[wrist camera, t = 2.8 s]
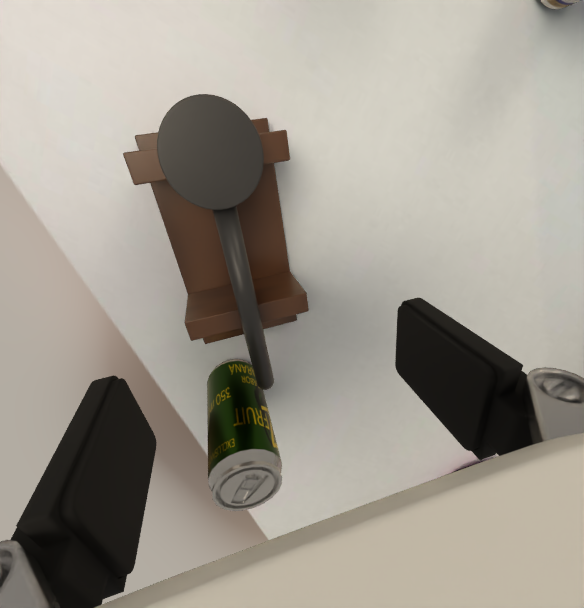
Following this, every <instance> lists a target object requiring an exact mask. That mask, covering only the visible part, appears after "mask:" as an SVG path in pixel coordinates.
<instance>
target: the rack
mask: <svg viewBox="0 0 584 608" xmlns="http://www.w3.org/2000/svg"><path fill="white" fill-rule="evenodd" d="M251 121H252V123H253V124H254V126H255V127H256V129H257V132H258V134H259V136H260V139H261V143H262V147H263V155H264V164H263V171H262V175H261V178H260V181H259V183H258V185H257V187H256V189H255V190H254V191H253V193H252V194H251V195H250V196H249V197H248V198H247V199H246V200H245V201H243V202H242V203H240V204H238V205H237V206H236V207H237V211H238V216H239V221H240V225H241V230H242V234H243V239H244V244H245V248H246V253H247V258H248V262H249V267H250V271H251V276H252V281H253V285H254V290H255V295H256V299H257V304H258V308H259V313H260V318H261V322H262V327H263V329H266V328H269V327H273V326H277V325H281V324H285V323H289V322H293V321H296V320H297V317H296V314H299V313H303V312H307V311H309V309H308V301H307V293H306V292H305V291H304V289H303V288H302V287H301V285H300V284H299V283H298V281H297V280H296V279H295V277H294V276H293V275H292V273H291V272H290V269H289V262H288V256H287V249H286V242H285V235H284V228H283V222H282V215H281V208H280V201H279V194H278V188H277V181H276V174H275V167H274V163H276V162H282V161H288V160H290V155H289V147H288V139H287V131H286V130H281V131H274V132H269V127H268V120H267V118H263V119H255V120H251ZM157 138H158V133H150V134H143V135H136V136H135V139H136V142H137V145H138V148H139V151H133V152H126V153H123V155H124V158H125V161H126V164H127V166H128V169H129V172H130V175H131V177H132V180H133V183H134V184H135V185H139V184H145V183H151V186H152V189H153V192H154V195H155V198H156V201H157V204H158V207H159V210H160V213H161V216H162V219H163V222H164V225H165V227H166V230H167V233H168V236H169V239H170V242H171V245H172V248H173V251H174V254H175V257H176V260H177V263H178V266H179V269H180V272H181V275H182V278H183V281H184V283H185V286H186V289H187V292H188V300H187V308H186V316H185V325H186V328H187V331H188V334H189V336H190V339H191V341H193V340H197V339H200V338H203V339H204V342H205V344H207V343H211V342H215V341H219V340H223V339H227V338H231V337H234V336H238V335H242V334H244V331H243V327H242V323H241V320H240V316H239V312H238V308H237V304H236V300H235V296H234V292H233V288H232V284H231V280H230V276H229V273H228V269H227V265H226V261H225V257H224V253H223V249H222V245H221V241H220V237H219V233H218V229H217V226H216V222H215V218H214V214H213V210H211V209H205V208H202V207H199V206H196V205H194V204H192V203H190V202H188V201H187V200H185V199H184V198H183V197H181V196H180V195H179V194H178V193H177V192H176V191H175V190H174V189H173V187H172V186H171V185H170V184H169V182H168V181H167V179H166V177H165V175H164V173H163V171H162V169H161V166H160V163H159V159H158V152H157Z"/></svg>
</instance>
